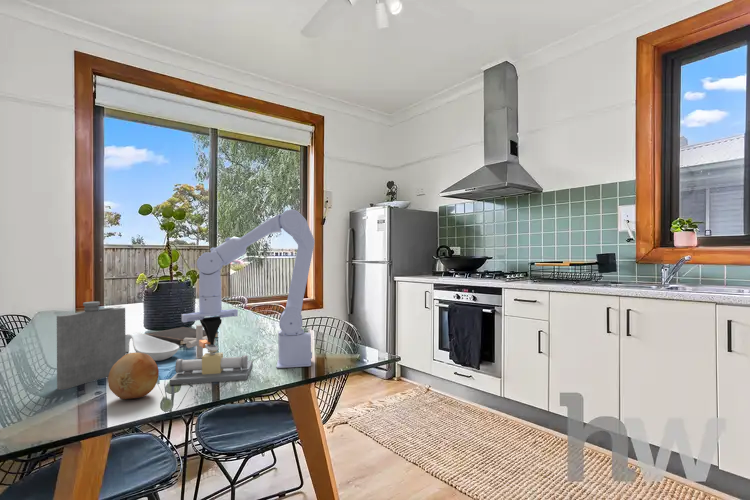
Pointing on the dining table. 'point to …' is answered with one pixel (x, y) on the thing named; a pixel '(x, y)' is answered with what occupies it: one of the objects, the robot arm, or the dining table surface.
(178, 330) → the hardcover book
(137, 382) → the onion
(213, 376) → the board
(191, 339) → the pipe connector
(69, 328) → the hip flask
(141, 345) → the spoon rest
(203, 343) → the valve lever
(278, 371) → the dining table surface
